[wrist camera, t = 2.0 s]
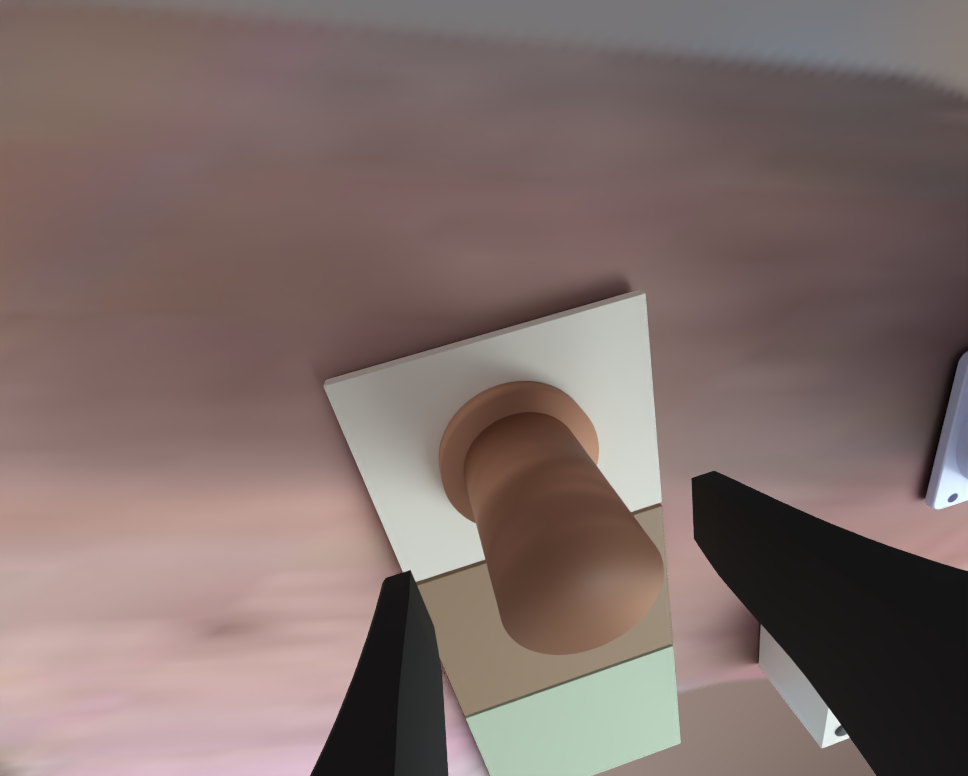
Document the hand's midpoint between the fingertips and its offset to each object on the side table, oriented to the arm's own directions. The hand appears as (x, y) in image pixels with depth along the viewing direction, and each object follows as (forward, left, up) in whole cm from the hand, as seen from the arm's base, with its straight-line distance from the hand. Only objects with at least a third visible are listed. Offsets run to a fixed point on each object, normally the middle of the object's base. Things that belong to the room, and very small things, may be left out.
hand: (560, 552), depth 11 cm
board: (0, +9, -5) cm, 10 cm away
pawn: (0, 0, -5) cm, 5 cm away
